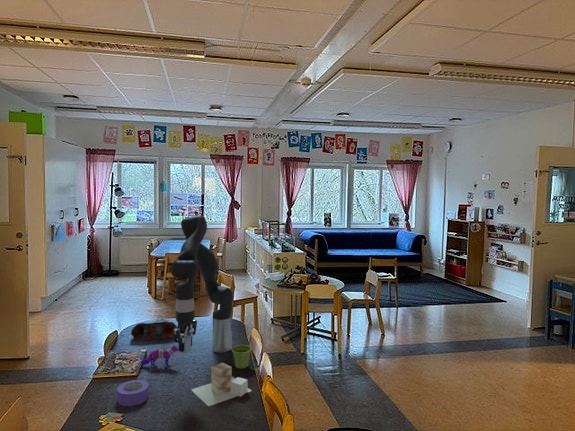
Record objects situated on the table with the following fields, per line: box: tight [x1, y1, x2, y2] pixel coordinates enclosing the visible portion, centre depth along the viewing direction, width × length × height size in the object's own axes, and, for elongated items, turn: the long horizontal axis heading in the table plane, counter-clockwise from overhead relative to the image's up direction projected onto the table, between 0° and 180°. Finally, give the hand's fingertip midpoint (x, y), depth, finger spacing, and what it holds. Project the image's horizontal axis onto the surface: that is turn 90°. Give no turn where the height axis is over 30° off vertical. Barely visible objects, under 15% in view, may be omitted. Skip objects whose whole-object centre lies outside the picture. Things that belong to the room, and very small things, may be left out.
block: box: [231, 376, 249, 398], centre depth 169 cm, size 5×5×5 cm
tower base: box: [211, 379, 231, 395], centre depth 171 cm, size 6×6×5 cm
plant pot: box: [230, 344, 252, 369], centre depth 194 cm, size 9×9×9 cm
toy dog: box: [140, 342, 180, 368], centre depth 193 cm, size 4×18×10 cm, turn 97°
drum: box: [181, 334, 192, 353], centre depth 169 cm, size 5×5×6 cm
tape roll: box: [116, 379, 150, 407], centre depth 164 cm, size 12×12×5 cm
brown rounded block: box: [130, 321, 178, 342], centre depth 233 cm, size 25×13×17 cm
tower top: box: [210, 362, 233, 384], centre depth 170 cm, size 6×6×5 cm
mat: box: [190, 375, 252, 407], centre depth 171 cm, size 20×16×1 cm
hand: (185, 348), depth 169 cm, fingers closed on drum, 4 cm apart
